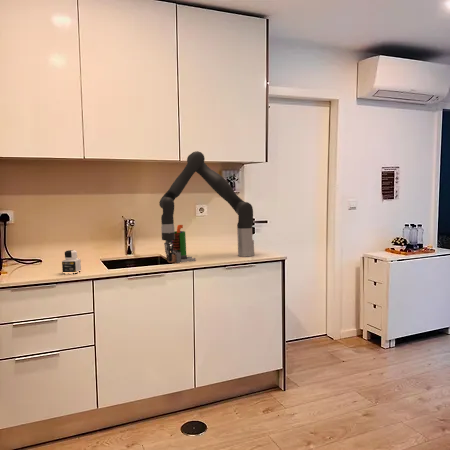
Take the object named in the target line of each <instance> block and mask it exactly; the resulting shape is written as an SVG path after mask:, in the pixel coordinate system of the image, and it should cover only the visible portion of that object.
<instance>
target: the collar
mask: <svg viewBox="0 0 450 450" xmlns="http://www.w3.org/2000/svg"><path fill="white" fill-rule="evenodd" d="M173 254H175V257H176V262H175V263H176V264H181V263H188V262H187V261H189V262H196V258H195V257H193V256H187V259H181V252H179V251H177V250H173ZM180 262H181V263H180Z"/></svg>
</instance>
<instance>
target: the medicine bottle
mask: <svg viewBox="0 0 450 450" xmlns="http://www.w3.org/2000/svg"><path fill="white" fill-rule="evenodd" d="M81 261H82V260H81V258H78V251H77V250H74V249H72V250H71V249H70V250H69V249H68V250H66V251H64V260H62V261H61V266H62V267H61V268H62V269H61V270H62V273H63V272H77V271H79V270H81V271H82V264H81Z"/></svg>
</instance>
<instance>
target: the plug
mask: <svg viewBox="0 0 450 450" xmlns="http://www.w3.org/2000/svg"><path fill="white" fill-rule="evenodd" d="M167 256H168V255H167ZM187 257H188V255H187V254H186V255H181V259H187ZM167 263H169V264H170V263H176V257H175V254H172V261H171V262H169V261H168V260H167Z"/></svg>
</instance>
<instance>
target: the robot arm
mask: <svg viewBox="0 0 450 450" xmlns="http://www.w3.org/2000/svg"><path fill="white" fill-rule="evenodd" d="M186 158H187V159H186V165H185V166H184V168H183V169H182V171H181V172H180V174H179V175H177V177H176V178H175V180H173V183H172V184H171V185H170V187H169V188H168V190H167V191H166V192H165V193H164V194H163V195H162V197H161V198H160V199H159V204H158V205H159V207H160V208H161V209H162V214H161V221H160V222H161V229H160V230H161V231H160V232H161V241H165V242H164V245H163V246H164V253H165V255H166V261H167V262H168V261H169V262H171V261H172V254H173V243H172V242H171V240H174V239H175V225H174V224H175V223H174V219H175V218H174V215H175V202H174V201H175V200H176V199H177V198H178V197H179V196H180V195H181V194H182V193H183V191H184V189H185V188H186V186H187V184H188V183H189V181H190V180H191V178H192V177H193V175H194V174H195V173H197V174H198V175H199V176H200V177H201V178H202V179H203V180H204V181H205V183H207V184H208V185H209V186H210V188H211V189H212V190H213V191H215V193H216V194H217V195H218V196H219V197H221V199H223V200H224V201H225V202H227V203H228V204H229V206H230V207H231V208H232V209H233V211H234V212H235V213H236V214H237V216H238V218H237V219H238V220H237V221H238V222H237V223H236V224H237V226H236V229H237V257H252V256H255V241H254V238H253V224H254V207H253V205H252V204H251V203H250V202H247V201H244V200H243V199H242V198H241V197H239V195H237V194H236V192H235V190H234V189H233V187H232V186H231V184H230V183H229V182H228V181H227V179H225V178H224V177H223V176H222V175H221V174H220V173H218V172H217V171H215V170H214V169H211V168H210V167H209V165H207V164H206V163H205V155H204V153H202V152H201V151H200V150H199V151H198V150H196V151H193V152H191V153H190V154H188V156H187V157H186ZM167 255H168V256H167ZM169 262H168V263H169ZM171 263H172V262H171Z"/></svg>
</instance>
